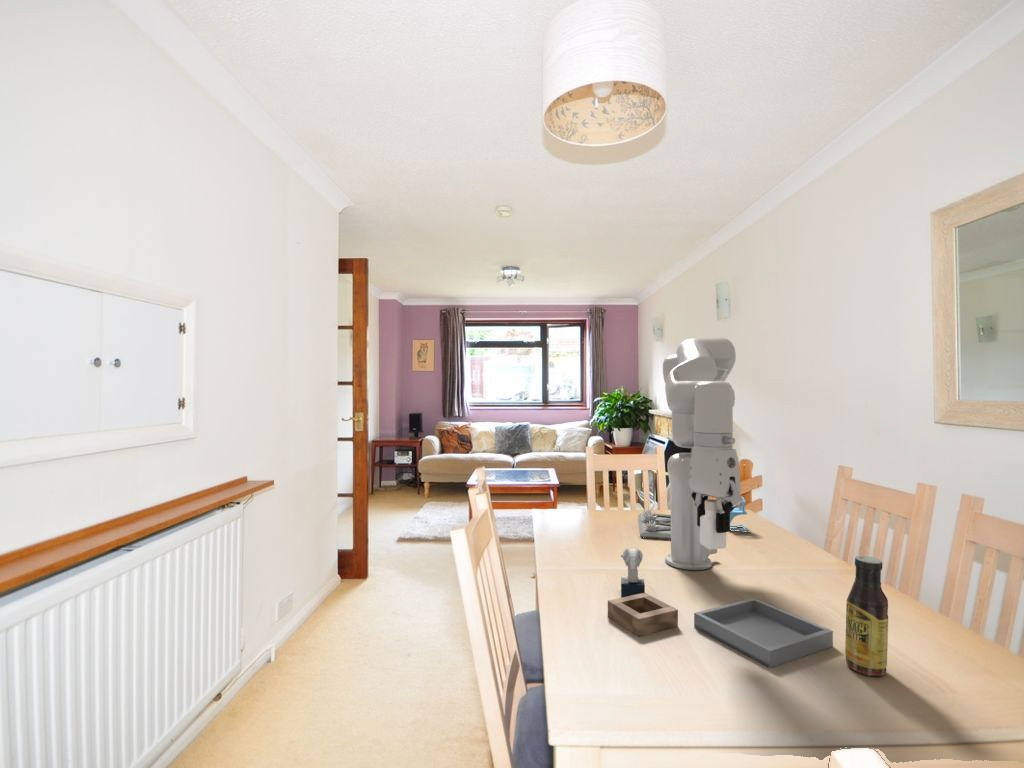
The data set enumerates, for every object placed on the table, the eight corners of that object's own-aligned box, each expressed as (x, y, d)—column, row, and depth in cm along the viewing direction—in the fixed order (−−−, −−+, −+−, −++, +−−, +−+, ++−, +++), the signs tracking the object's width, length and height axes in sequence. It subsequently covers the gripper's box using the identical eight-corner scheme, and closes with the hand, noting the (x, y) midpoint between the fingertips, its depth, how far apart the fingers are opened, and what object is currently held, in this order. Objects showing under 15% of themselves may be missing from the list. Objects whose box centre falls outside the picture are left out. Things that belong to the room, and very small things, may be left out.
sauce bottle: (837, 661, 97) (836, 552, 97) (869, 659, 97) (868, 551, 97) (863, 680, 90) (863, 564, 90) (898, 679, 91) (897, 563, 91)
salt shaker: (710, 550, 107) (710, 503, 107) (698, 544, 111) (698, 499, 111) (727, 548, 108) (727, 502, 108) (715, 543, 112) (715, 498, 112)
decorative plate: (708, 544, 172) (708, 522, 172) (640, 540, 176) (640, 519, 176) (695, 521, 201) (695, 503, 201) (637, 518, 205) (637, 500, 206)
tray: (753, 611, 118) (753, 597, 118) (832, 646, 102) (832, 630, 102) (694, 627, 110) (694, 612, 110) (769, 668, 94) (769, 651, 94)
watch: (643, 588, 132) (643, 544, 132) (644, 601, 124) (644, 554, 124) (620, 587, 133) (620, 543, 133) (620, 599, 125) (620, 553, 125)
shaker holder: (644, 607, 120) (644, 592, 120) (677, 626, 111) (677, 609, 111) (607, 616, 116) (607, 600, 116) (638, 636, 106) (638, 619, 106)
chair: (719, 526, 192) (719, 493, 192) (743, 527, 191) (743, 494, 191) (725, 532, 184) (724, 498, 184) (750, 533, 183) (749, 498, 183)
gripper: (760, 444, 103) (760, 537, 103) (697, 436, 119) (697, 517, 118) (731, 446, 100) (732, 542, 100) (671, 438, 115) (671, 521, 115)
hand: (713, 528), depth 109 cm, fingers closed on salt shaker, 4 cm apart
